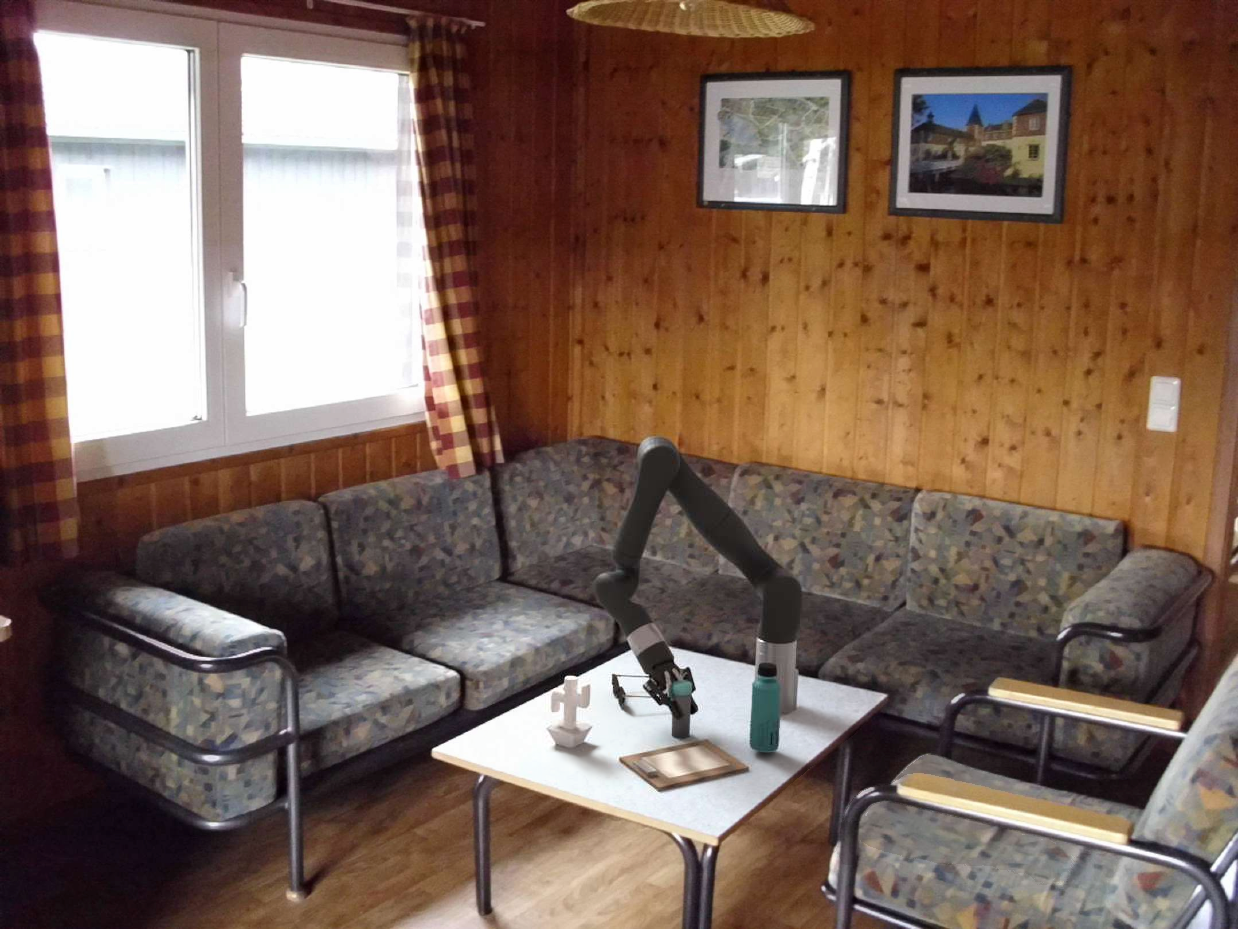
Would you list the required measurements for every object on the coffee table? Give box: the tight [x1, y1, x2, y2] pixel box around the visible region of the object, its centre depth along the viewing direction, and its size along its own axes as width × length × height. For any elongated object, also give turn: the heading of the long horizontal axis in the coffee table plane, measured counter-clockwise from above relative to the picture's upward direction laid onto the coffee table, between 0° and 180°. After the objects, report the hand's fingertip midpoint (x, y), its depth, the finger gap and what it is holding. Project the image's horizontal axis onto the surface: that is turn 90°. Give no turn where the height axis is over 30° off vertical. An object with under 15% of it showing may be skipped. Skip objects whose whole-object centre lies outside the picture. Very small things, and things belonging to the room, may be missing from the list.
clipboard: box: [618, 738, 750, 792], centre depth 281 cm, size 22×16×2 cm
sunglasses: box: [611, 673, 661, 710], centre depth 318 cm, size 14×16×5 cm
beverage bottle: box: [748, 662, 781, 753], centre depth 287 cm, size 6×7×20 cm
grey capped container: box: [671, 680, 693, 740], centre depth 296 cm, size 4×4×12 cm
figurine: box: [546, 675, 594, 749], centre depth 290 cm, size 7×9×15 cm
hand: (687, 715), depth 295 cm, fingers closed on grey capped container, 4 cm apart
